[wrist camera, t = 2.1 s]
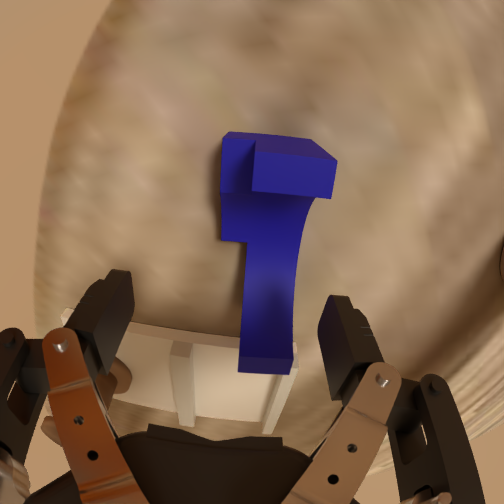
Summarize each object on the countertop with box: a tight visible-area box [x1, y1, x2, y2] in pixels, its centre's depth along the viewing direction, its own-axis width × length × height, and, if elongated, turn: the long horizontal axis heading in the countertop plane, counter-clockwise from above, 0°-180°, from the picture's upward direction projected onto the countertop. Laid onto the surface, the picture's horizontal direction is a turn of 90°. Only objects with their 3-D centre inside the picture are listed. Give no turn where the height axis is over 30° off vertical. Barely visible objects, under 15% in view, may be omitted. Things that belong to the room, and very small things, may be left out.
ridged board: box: [61, 308, 299, 434], centre depth 24 cm, size 20×12×3 cm, turn 83°
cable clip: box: [220, 132, 337, 375], centre depth 16 cm, size 12×4×6 cm, turn 175°
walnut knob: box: [41, 356, 132, 447], centre depth 20 cm, size 6×6×9 cm
